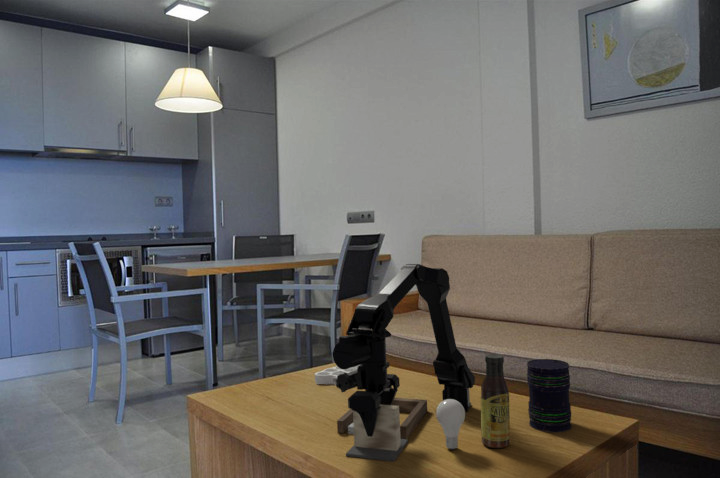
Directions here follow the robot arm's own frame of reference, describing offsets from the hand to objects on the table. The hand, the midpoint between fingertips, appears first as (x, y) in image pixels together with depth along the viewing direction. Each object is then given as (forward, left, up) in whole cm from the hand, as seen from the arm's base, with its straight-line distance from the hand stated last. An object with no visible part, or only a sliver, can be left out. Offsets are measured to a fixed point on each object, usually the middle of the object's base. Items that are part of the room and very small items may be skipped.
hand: (376, 428), depth 125 cm
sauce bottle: (-25, -9, -5) cm, 27 cm away
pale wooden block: (0, 0, -4) cm, 4 cm away
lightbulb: (-16, -4, -5) cm, 17 cm away
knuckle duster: (+30, -53, -5) cm, 61 cm away
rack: (+4, -17, -5) cm, 18 cm away
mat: (0, 0, -5) cm, 5 cm away
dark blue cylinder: (-36, -24, -5) cm, 44 cm away
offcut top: (+4, -9, -4) cm, 11 cm away
